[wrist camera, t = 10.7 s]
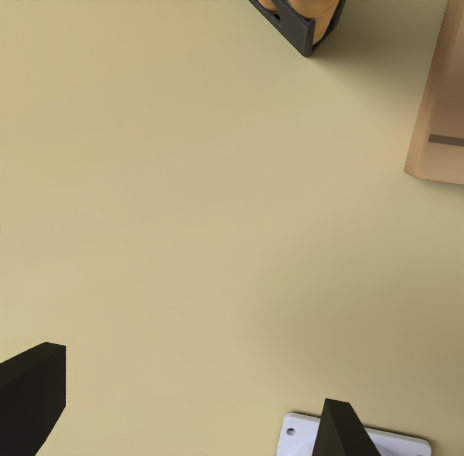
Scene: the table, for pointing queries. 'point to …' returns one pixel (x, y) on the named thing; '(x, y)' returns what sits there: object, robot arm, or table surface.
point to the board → (442, 107)
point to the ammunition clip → (302, 20)
